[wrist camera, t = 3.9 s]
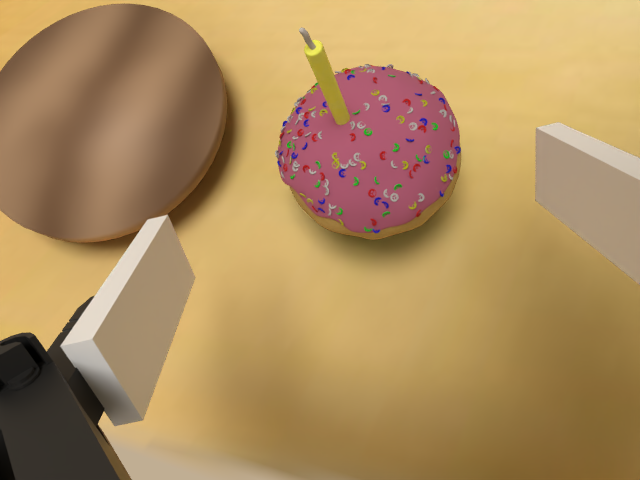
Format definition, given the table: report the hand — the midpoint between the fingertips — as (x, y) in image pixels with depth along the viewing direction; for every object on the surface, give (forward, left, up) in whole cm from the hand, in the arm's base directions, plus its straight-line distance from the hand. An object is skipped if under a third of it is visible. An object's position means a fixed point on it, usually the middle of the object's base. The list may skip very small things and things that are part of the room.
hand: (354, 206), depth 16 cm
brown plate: (+16, -6, -9) cm, 19 cm away
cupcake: (0, -4, -9) cm, 10 cm away
